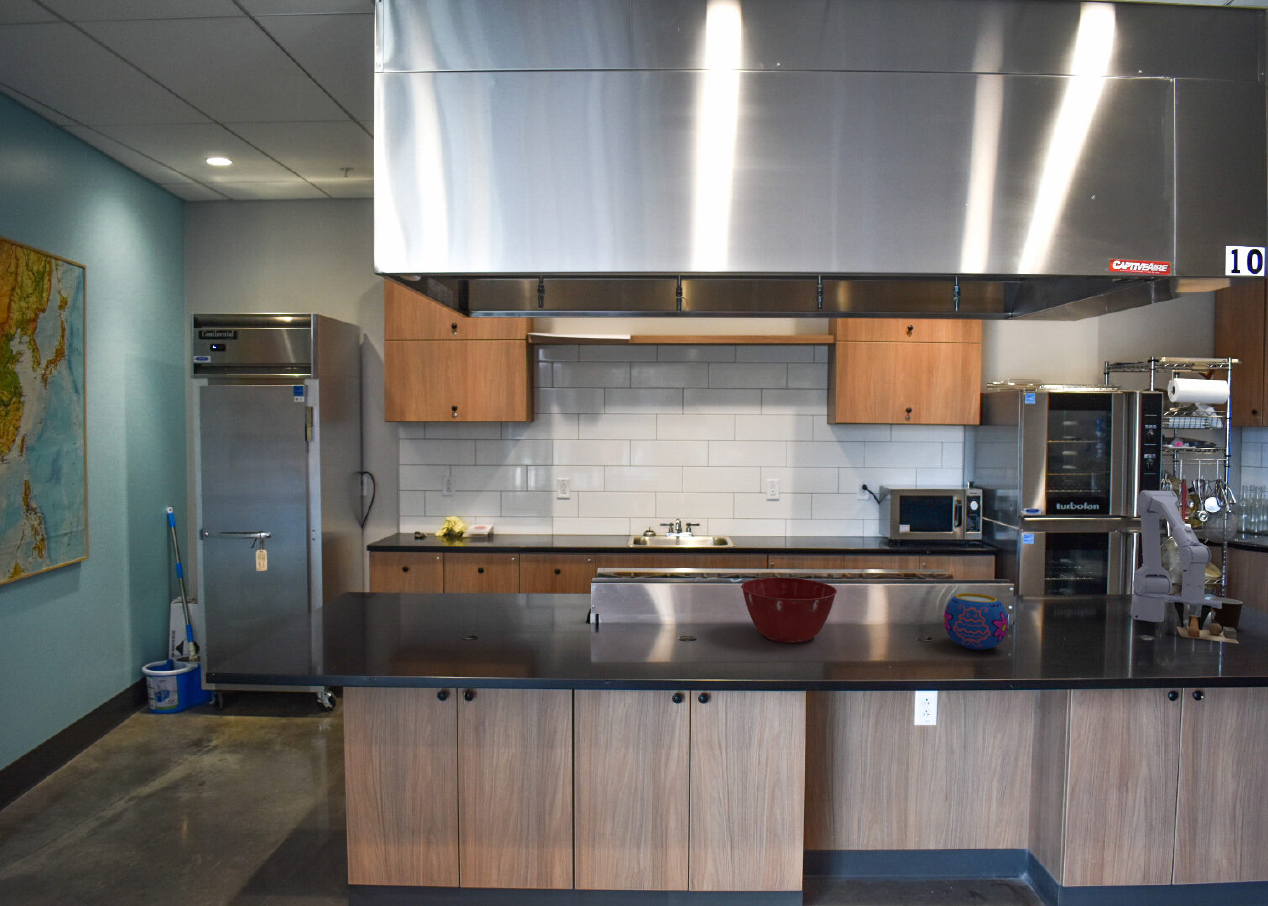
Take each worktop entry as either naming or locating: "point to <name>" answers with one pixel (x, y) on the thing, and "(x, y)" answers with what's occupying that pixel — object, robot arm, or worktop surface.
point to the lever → (1193, 625)
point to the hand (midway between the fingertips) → (1191, 628)
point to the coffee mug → (1227, 613)
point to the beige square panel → (1225, 636)
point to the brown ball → (1215, 629)
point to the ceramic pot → (976, 621)
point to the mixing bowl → (788, 607)
